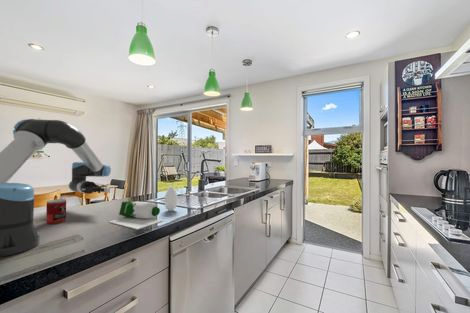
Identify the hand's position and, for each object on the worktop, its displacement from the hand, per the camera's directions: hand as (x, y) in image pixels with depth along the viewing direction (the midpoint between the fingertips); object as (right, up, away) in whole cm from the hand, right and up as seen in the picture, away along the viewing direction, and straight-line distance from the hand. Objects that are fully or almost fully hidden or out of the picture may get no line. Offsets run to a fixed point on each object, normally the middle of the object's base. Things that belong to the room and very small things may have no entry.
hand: (108, 190), depth 121 cm
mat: (+22, -14, -12) cm, 29 cm away
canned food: (-19, -14, -13) cm, 27 cm away
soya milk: (+11, -10, -3) cm, 15 cm away
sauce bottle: (+32, -15, +12) cm, 38 cm away
